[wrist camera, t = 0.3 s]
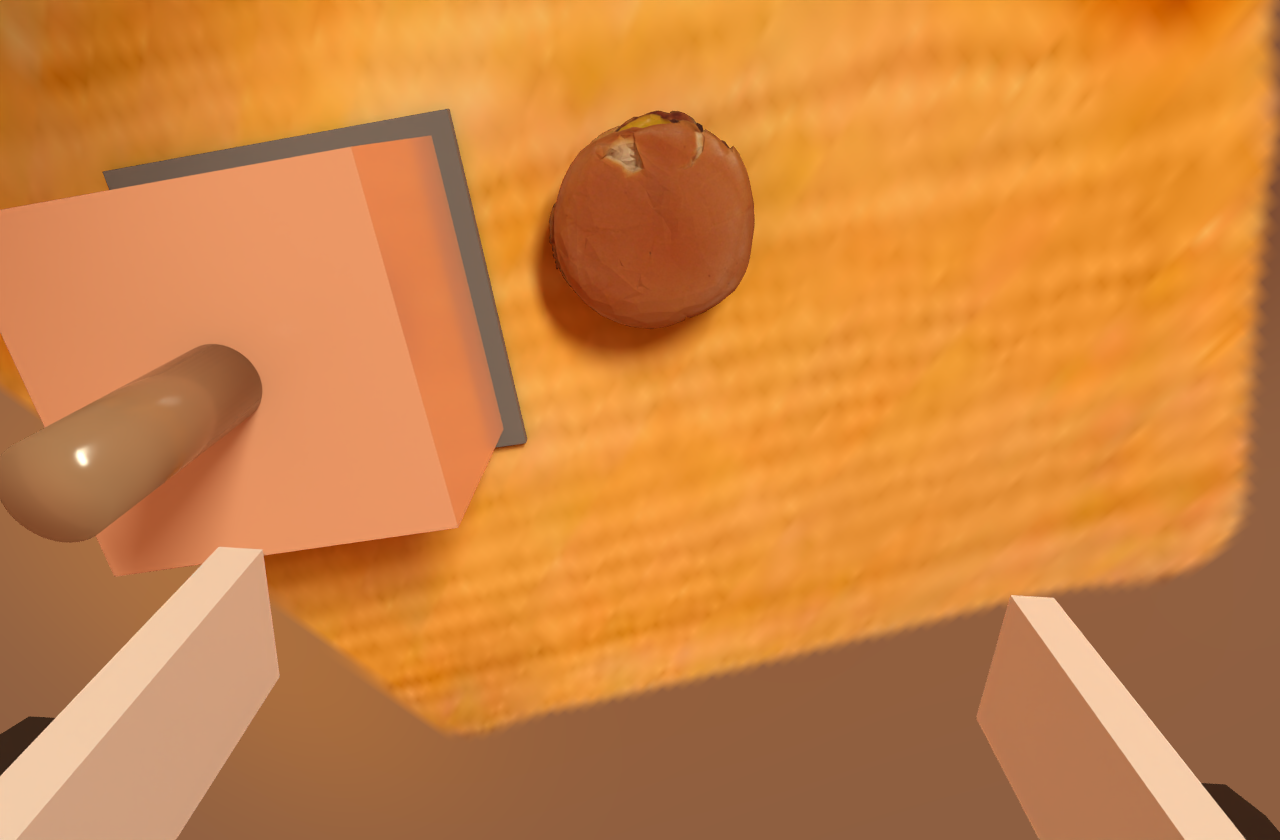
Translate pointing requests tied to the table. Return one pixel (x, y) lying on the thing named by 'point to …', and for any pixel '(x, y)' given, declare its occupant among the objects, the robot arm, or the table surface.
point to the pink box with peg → (246, 360)
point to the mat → (457, 199)
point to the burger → (654, 221)
